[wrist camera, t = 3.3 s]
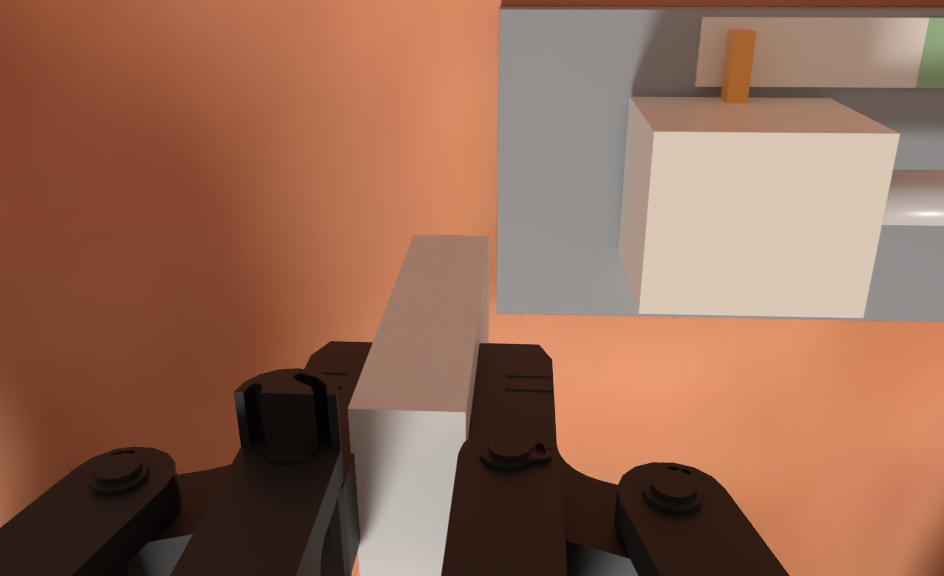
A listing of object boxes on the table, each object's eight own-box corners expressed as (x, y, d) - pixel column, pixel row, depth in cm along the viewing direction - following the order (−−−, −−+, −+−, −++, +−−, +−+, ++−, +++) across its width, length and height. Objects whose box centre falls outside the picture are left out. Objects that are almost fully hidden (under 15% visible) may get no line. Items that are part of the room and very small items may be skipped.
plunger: (618, 250, 27) (638, 313, 23) (634, 28, 24) (661, 48, 20) (1058, 257, 27) (1171, 324, 22) (1125, 29, 24) (1270, 51, 19)
